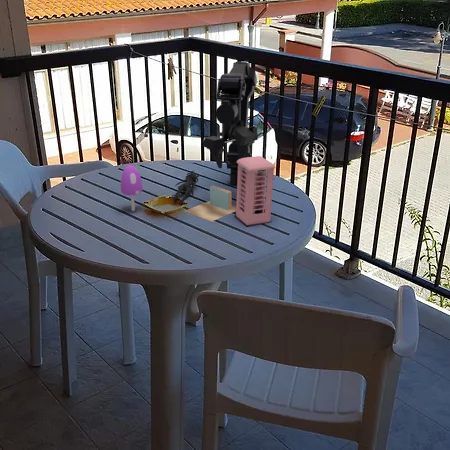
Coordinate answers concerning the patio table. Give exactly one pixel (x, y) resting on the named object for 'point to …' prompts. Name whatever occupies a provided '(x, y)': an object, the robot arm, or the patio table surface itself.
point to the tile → (220, 198)
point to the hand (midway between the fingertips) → (230, 165)
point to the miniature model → (254, 190)
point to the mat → (210, 211)
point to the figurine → (186, 186)
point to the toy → (131, 183)
